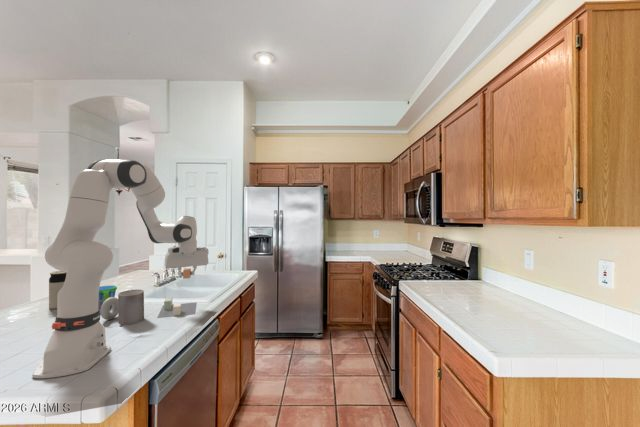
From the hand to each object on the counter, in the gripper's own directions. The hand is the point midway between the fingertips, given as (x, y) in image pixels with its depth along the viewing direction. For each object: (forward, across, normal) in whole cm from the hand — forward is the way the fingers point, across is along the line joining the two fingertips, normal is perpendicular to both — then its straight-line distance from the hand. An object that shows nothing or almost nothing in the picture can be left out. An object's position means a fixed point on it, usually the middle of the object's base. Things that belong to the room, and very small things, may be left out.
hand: (187, 275), depth 155 cm
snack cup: (+17, +34, -25) cm, 46 cm away
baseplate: (+17, +4, +3) cm, 18 cm away
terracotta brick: (+1, 0, 0) cm, 1 cm away
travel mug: (+17, +53, -40) cm, 68 cm away
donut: (+17, +32, -3) cm, 36 cm away
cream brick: (+16, +6, +9) cm, 19 cm away
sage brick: (+16, +8, -3) cm, 18 cm away
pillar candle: (+17, +24, +8) cm, 31 cm away
